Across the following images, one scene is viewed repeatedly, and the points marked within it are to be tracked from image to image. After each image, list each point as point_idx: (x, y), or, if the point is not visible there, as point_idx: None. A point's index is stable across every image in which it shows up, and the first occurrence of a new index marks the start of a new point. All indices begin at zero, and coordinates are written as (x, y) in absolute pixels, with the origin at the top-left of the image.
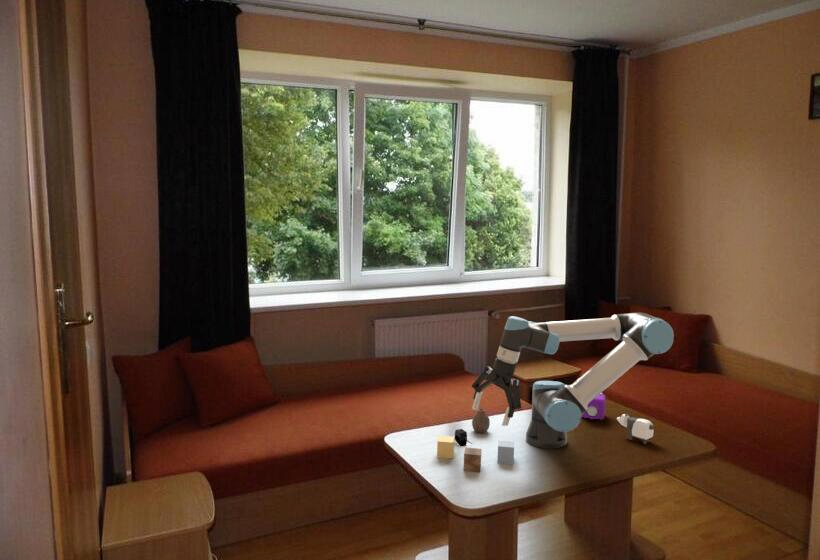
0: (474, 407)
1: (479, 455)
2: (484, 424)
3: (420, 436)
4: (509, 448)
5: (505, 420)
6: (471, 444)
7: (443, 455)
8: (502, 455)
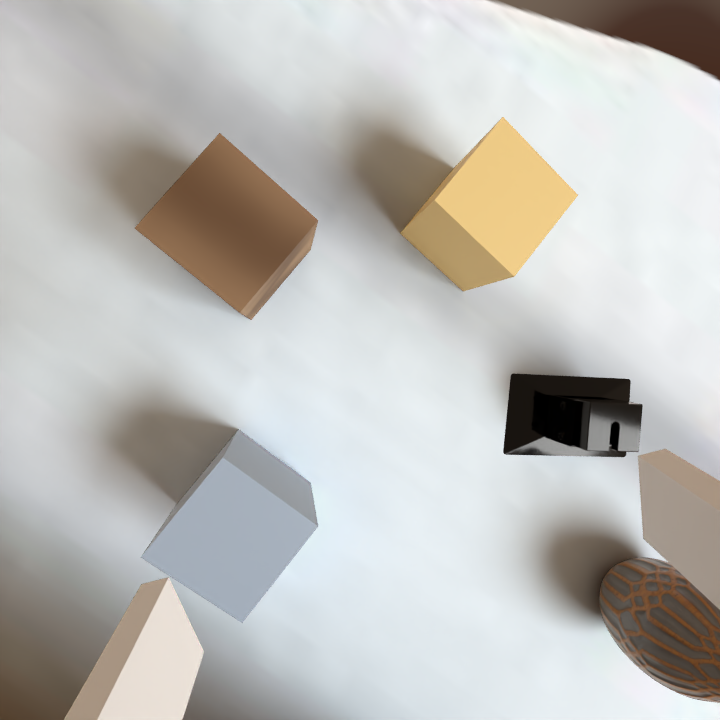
0: (665, 483)
1: (140, 221)
2: (630, 622)
3: (706, 259)
4: (167, 523)
5: (102, 663)
6: (507, 442)
7: (437, 189)
8: (211, 465)
